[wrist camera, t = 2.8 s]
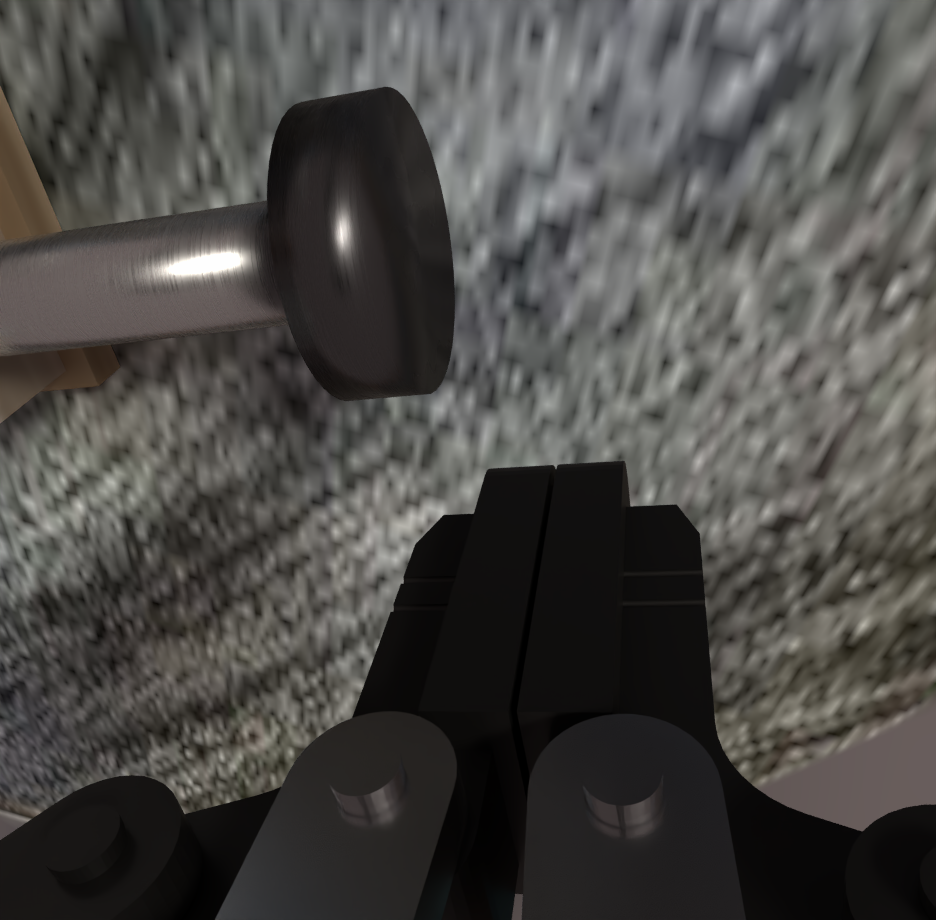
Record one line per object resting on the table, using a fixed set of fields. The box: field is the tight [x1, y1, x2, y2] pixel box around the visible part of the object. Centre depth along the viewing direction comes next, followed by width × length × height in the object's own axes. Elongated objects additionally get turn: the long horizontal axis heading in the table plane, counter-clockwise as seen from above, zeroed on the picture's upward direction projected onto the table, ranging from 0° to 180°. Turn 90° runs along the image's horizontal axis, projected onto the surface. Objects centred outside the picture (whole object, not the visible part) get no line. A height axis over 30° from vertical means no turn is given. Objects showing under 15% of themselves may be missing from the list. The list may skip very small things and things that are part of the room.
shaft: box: [0, 87, 455, 401], centre depth 23 cm, size 18×7×7 cm, turn 100°
